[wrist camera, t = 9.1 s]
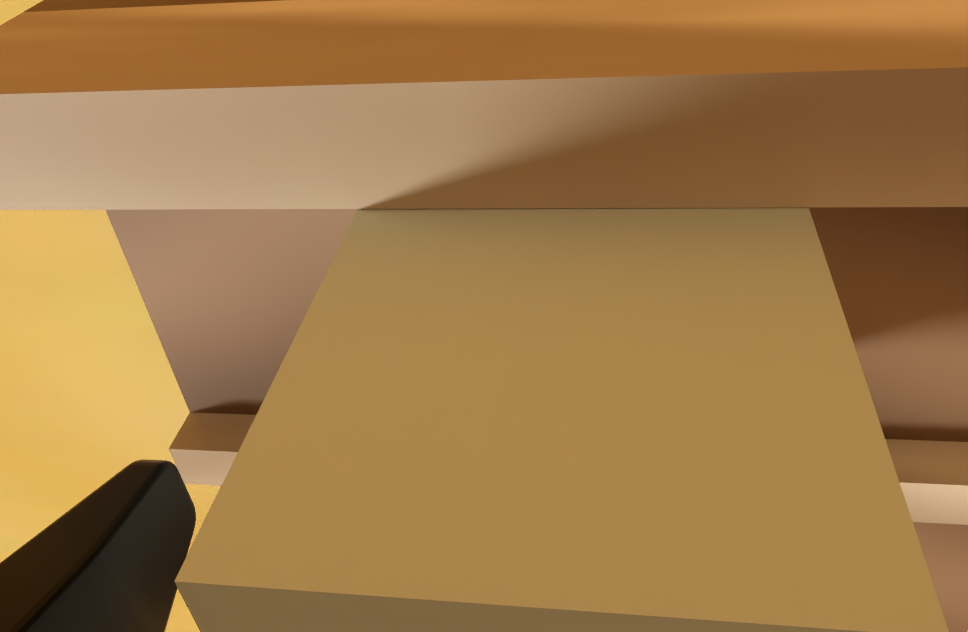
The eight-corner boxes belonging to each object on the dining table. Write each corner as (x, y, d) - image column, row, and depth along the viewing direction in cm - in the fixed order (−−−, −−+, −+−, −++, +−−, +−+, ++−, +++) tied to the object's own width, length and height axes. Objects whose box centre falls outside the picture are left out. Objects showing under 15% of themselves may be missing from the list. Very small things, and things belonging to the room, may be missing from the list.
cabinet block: (729, 405, 15) (804, 951, 8) (453, 396, 16) (335, 890, 9) (771, 94, 11) (950, 637, 5) (409, 103, 12) (173, 581, 6)
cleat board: (922, 627, 20) (983, 828, 17) (299, 583, 23) (240, 750, 19) (1221, -78, 11) (1514, 51, 7) (77, -19, 13) (-125, 97, 10)
